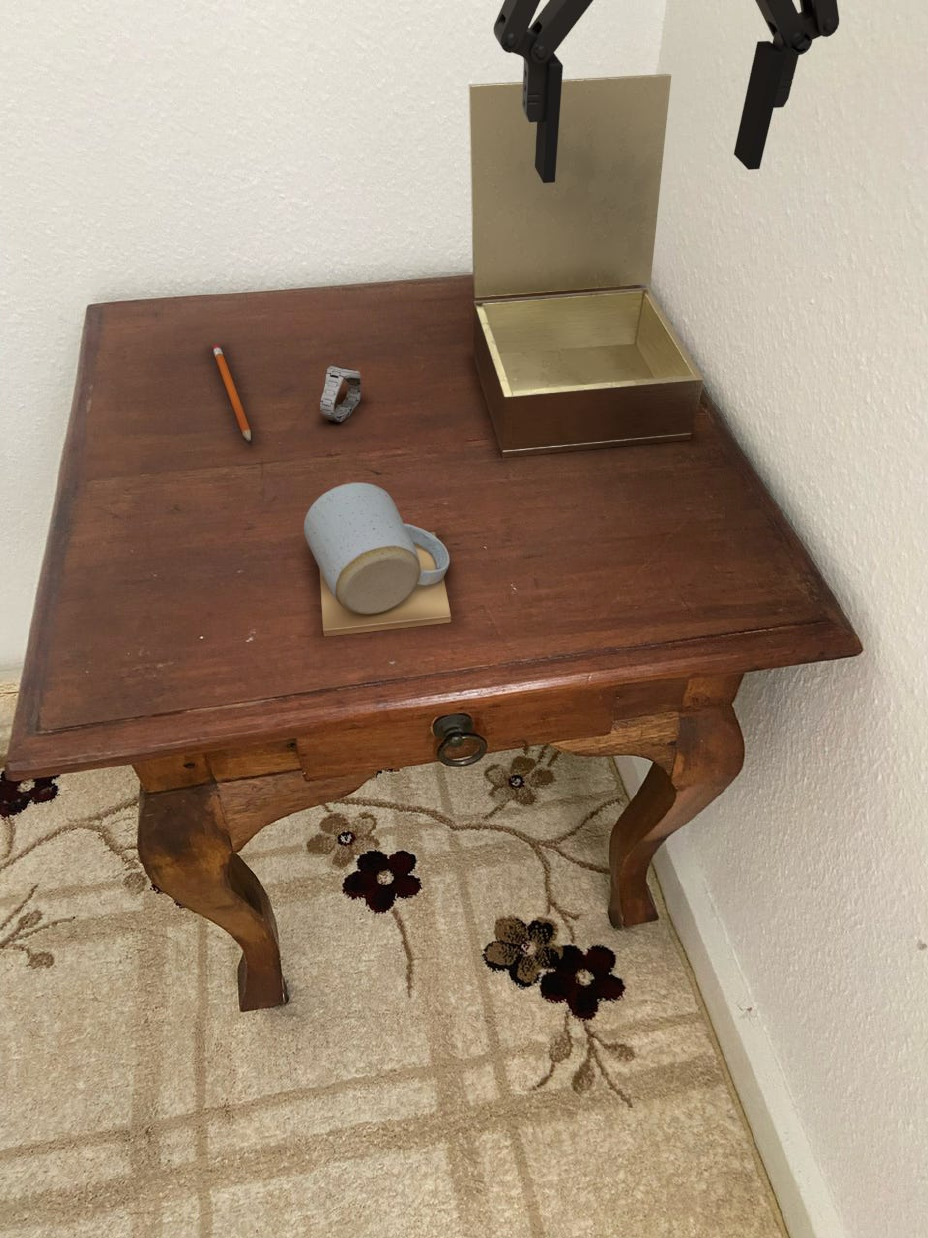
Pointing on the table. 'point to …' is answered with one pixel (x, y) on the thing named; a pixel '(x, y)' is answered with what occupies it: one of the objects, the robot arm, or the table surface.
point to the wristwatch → (332, 388)
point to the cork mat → (414, 611)
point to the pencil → (232, 393)
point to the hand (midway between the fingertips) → (646, 168)
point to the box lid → (567, 187)
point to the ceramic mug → (369, 548)
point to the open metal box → (583, 372)
